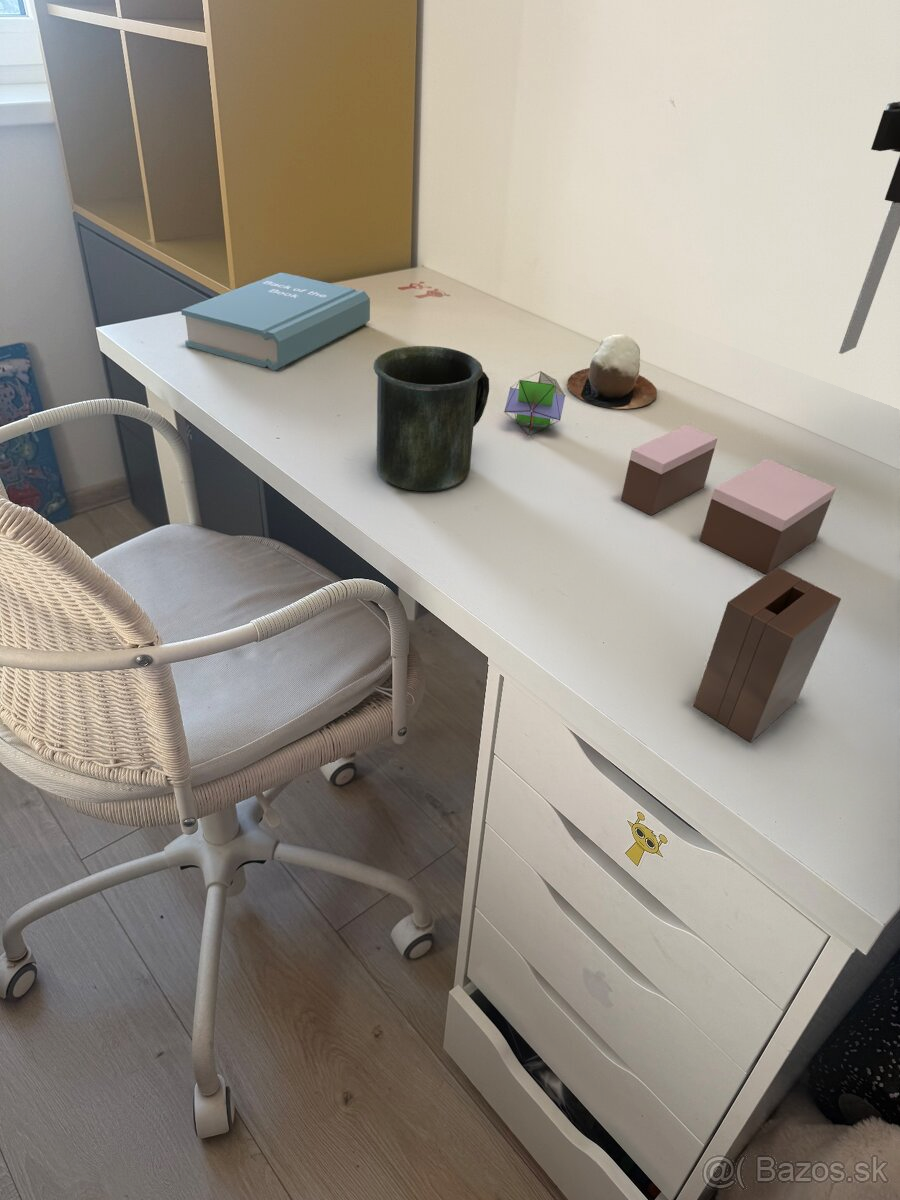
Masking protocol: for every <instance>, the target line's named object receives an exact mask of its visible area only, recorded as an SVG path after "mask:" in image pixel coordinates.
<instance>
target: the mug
mask: <svg viewBox="0 0 900 1200" xmlns="http://www.w3.org/2000/svg"><path fill="white" fill-rule="evenodd" d="M372 366H373V367H372V368H373V371H374V374H376V376H377V386H376V387H377V390H376V391H377V393H376V394H377V395H376V396H377V397H376V399H377V400H376V464H375V465H376V470H377V471H378V473H379V474H380V475H381V477H382V478H383V480H384V481H386V482H388V483H389V484H391V485H393V486H395V487H398V488H401V489H404V490H410V491H418V492H433V491H434V492H435V491H440V490H441V491H442V490H446V489H449V488H452V487H454V486H456V485H458V484H460V483H462V482H463V480H465V478H466V477H467V476H468V474H469V472H470V469H471V461H472V460H471V459H472V451H473V450H472V449H473V437H474V427H476V425H477V424H478V423H479V422H480V420H481V418H482V416H483V414H484V413H485V412H484V411H485V409H486V406H487V403H488V398H489V395H490V394H489V393H490V378H489V377H488V375H487V373H486V372H484V370H483V366H482V364H481V362H480V361H479V360H478V359H477V358H475V357H474V356H472V355H471V354H468V353H466V352H463V351H461V350H457V349H453V348H450V347H442V346H435V345H434V346H433V345H412V346H411V345H409V346H403V347H398V348H393V349H391V350H387V351H385V352H383V353H382V354H380V355H378V356H377V357H376V358H375V360H374V361H373V365H372Z"/></svg>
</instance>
